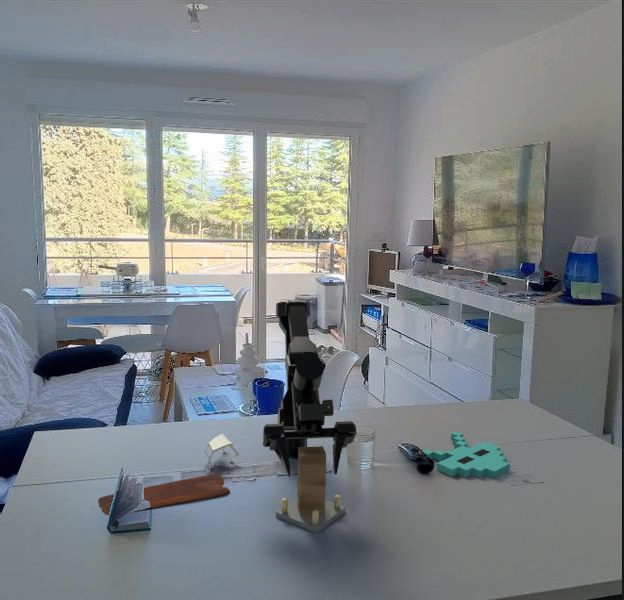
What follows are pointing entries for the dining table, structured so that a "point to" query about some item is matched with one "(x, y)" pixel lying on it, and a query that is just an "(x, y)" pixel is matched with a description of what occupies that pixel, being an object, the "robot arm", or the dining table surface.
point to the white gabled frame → (219, 446)
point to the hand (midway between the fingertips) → (312, 475)
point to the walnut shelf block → (311, 480)
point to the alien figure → (470, 459)
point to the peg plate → (310, 521)
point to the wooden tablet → (177, 492)
